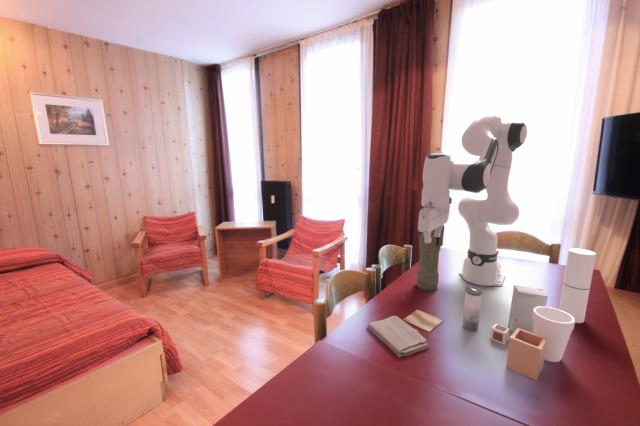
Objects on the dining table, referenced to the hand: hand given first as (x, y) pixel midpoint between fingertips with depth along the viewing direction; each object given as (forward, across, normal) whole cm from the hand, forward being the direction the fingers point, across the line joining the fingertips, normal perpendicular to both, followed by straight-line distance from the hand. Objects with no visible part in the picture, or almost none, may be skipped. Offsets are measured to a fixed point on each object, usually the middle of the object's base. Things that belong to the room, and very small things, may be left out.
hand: (432, 239), depth 104 cm
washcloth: (+29, -20, +3) cm, 36 cm away
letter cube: (+29, -1, -23) cm, 37 cm away
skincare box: (+29, +10, -29) cm, 42 cm away
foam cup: (+29, 0, -35) cm, 46 cm away
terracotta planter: (+29, -11, -31) cm, 44 cm away
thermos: (+29, +23, +9) cm, 38 cm away
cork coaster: (+29, -6, 0) cm, 29 cm away
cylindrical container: (+29, +30, -41) cm, 58 cm away
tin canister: (+29, +1, -14) cm, 32 cm away
